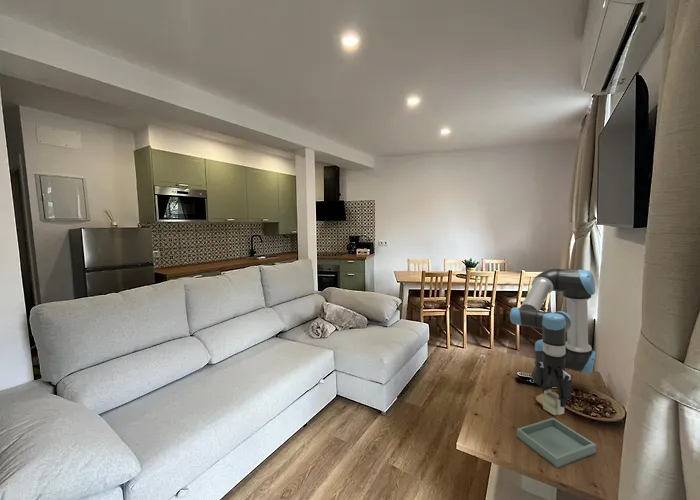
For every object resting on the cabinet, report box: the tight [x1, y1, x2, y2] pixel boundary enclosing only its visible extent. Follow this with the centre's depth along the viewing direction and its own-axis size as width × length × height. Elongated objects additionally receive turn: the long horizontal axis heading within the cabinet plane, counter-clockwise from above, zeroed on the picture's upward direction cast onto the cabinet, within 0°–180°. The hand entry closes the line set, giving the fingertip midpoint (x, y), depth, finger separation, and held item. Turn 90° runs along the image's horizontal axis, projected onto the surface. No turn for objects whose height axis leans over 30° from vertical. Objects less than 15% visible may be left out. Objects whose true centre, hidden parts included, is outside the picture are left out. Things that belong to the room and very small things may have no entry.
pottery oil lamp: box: [535, 392, 543, 406], centre depth 148 cm, size 9×12×7 cm
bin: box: [516, 417, 597, 469], centre depth 125 cm, size 20×18×4 cm
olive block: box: [542, 391, 559, 416], centre depth 123 cm, size 5×5×6 cm
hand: (554, 409), depth 124 cm, fingers closed on olive block, 5 cm apart
